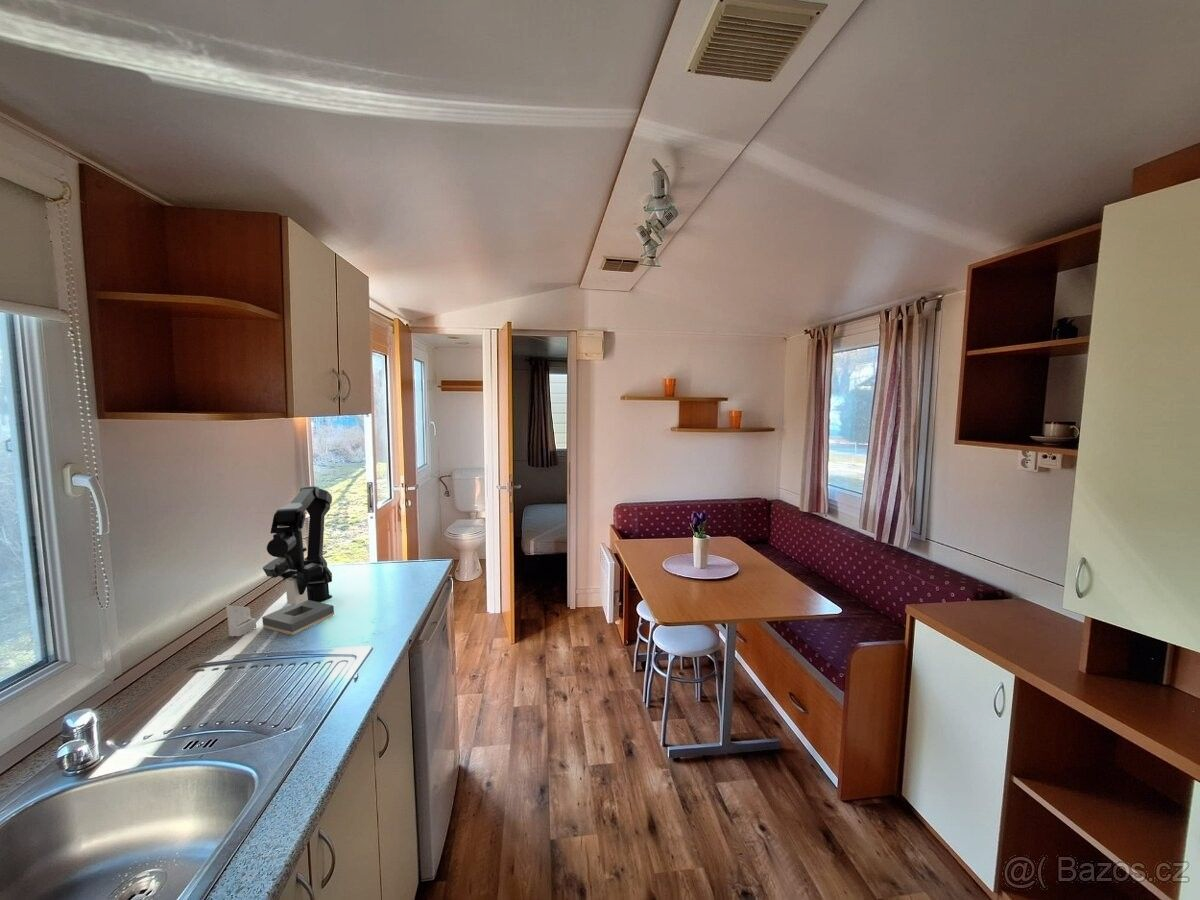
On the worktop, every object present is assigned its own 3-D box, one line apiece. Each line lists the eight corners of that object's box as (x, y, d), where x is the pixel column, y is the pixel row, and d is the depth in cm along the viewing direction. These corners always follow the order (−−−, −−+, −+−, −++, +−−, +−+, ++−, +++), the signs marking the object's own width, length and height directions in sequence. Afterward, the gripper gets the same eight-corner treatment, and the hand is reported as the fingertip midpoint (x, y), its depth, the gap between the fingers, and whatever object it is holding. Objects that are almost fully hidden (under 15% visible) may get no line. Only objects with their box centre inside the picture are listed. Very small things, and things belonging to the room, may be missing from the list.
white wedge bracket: (214, 635, 139) (226, 604, 142) (243, 636, 148) (253, 608, 151) (224, 636, 138) (235, 605, 142) (253, 637, 147) (263, 608, 151)
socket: (305, 608, 161) (304, 599, 161) (334, 615, 156) (333, 605, 156) (263, 627, 149) (262, 617, 148) (292, 635, 143) (291, 624, 143)
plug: (299, 598, 154) (297, 572, 153) (307, 600, 153) (305, 573, 152) (287, 603, 151) (284, 576, 149) (295, 605, 149) (293, 578, 148)
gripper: (246, 551, 146) (252, 599, 147) (286, 558, 139) (291, 608, 140) (282, 540, 156) (287, 585, 158) (321, 546, 149) (325, 593, 151)
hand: (297, 593), depth 151 cm, fingers closed on plug, 4 cm apart
